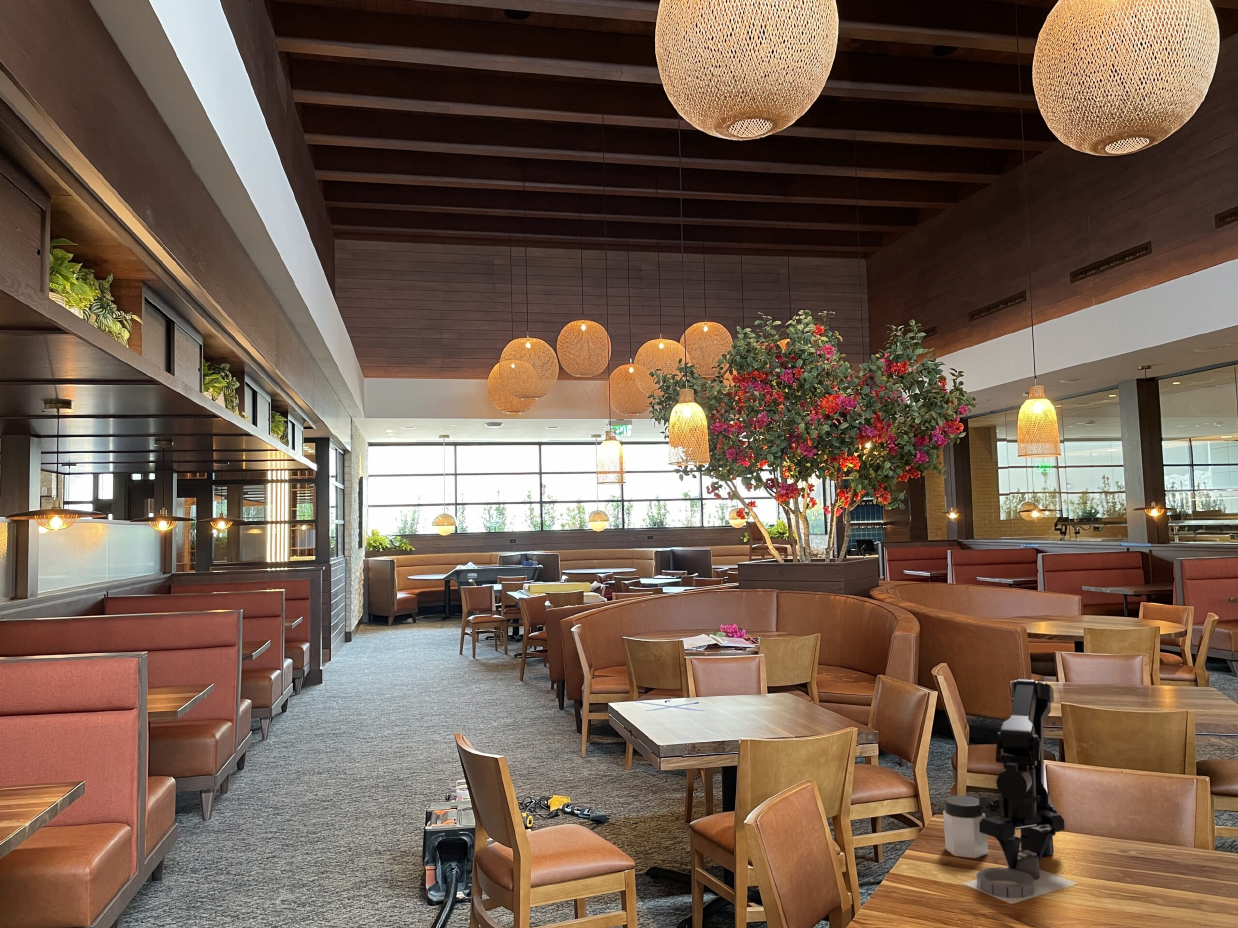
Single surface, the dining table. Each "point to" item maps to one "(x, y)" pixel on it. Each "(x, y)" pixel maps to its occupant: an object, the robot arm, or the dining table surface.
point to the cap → (1028, 863)
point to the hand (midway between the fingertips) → (1023, 866)
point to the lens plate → (1039, 885)
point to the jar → (964, 827)
